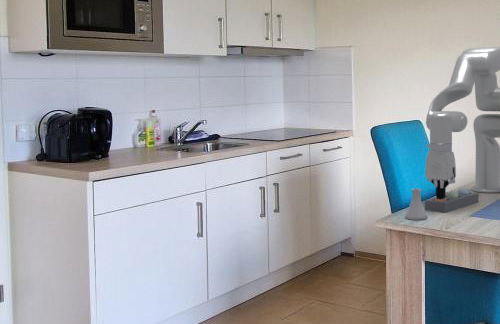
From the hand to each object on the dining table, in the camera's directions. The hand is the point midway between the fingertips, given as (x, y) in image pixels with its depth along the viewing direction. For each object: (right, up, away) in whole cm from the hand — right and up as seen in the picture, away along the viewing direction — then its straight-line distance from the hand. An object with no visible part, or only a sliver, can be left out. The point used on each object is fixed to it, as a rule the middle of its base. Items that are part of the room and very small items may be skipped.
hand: (440, 198), depth 222 cm
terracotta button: (0, -3, 0) cm, 3 cm away
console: (+6, -3, +6) cm, 9 cm away
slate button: (+12, 0, +11) cm, 16 cm away
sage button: (+6, -1, +6) cm, 8 cm away
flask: (-12, -6, -12) cm, 18 cm away
